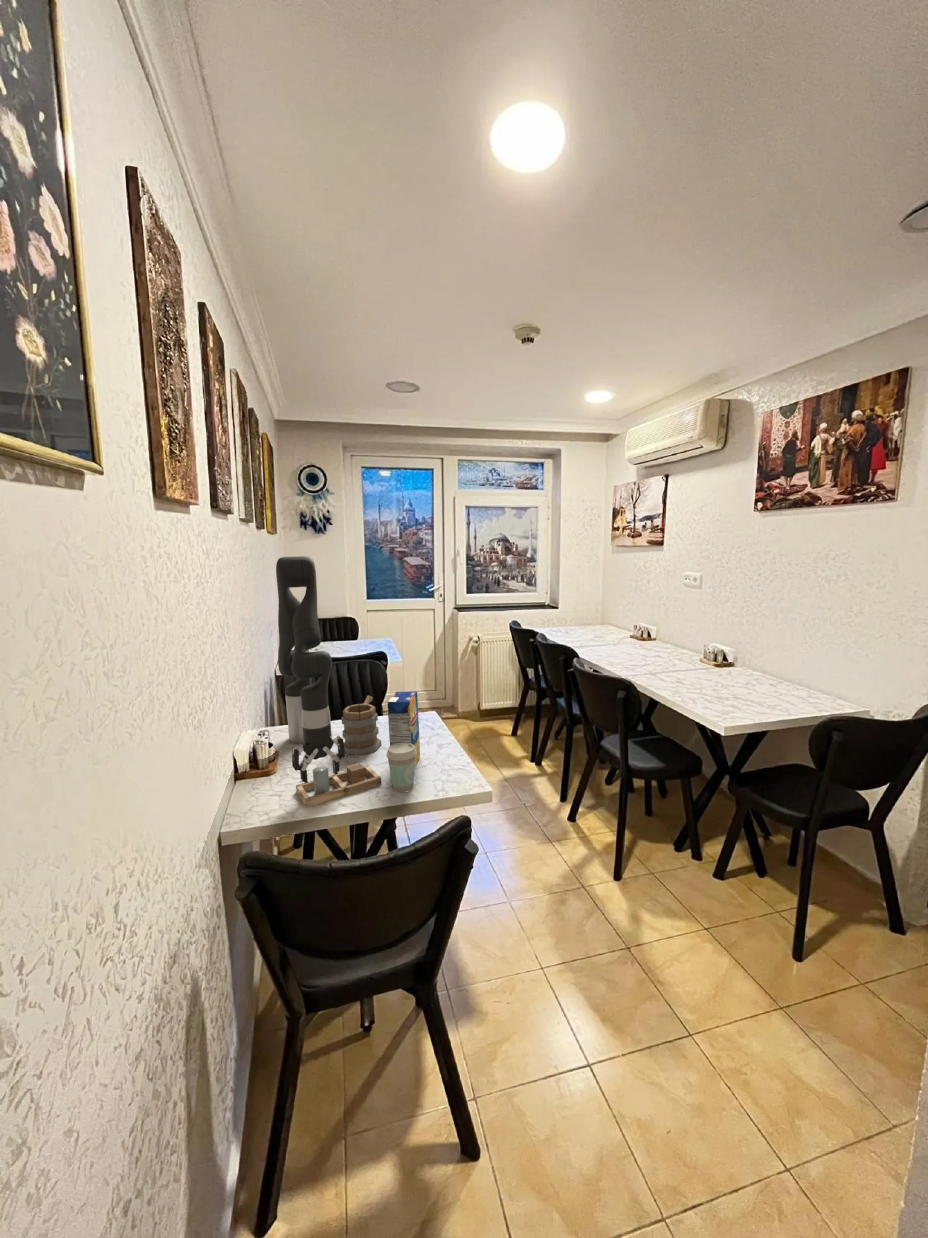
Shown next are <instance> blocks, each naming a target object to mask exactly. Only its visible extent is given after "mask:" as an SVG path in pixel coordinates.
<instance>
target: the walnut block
mask: <svg viewBox="0 0 928 1238" xmlns="http://www.w3.org/2000/svg"><path fill="white" fill-rule="evenodd" d="M363 766H364V765H362V764H361V763H360V762H358V763H353V764H349V765H347V766H346V771H347V779H346V780H347V784H348V785H351V784H355V783H358V782H361V781H365V780H366V774H365V768H364V767H363Z"/></svg>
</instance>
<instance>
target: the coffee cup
mask: <svg viewBox="0 0 928 1238" xmlns="http://www.w3.org/2000/svg"><path fill="white" fill-rule="evenodd" d="M386 751H387V752H386V758H387V760H388V761H387V762H388V766H389V767H388V768H389V772H390V778H391V784H392V788H393V790H394V791H395V792H397V793H407V792H410V791H412V790H413V789H414V785H415V770H416V766H415V758H416V754H417V752H416V749H415V747H414V745H413V744H410V743H397V744H393V745H391V746H390V745H389V746H388V748H387V750H386Z"/></svg>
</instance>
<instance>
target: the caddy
mask: <svg viewBox="0 0 928 1238" xmlns="http://www.w3.org/2000/svg"><path fill="white" fill-rule="evenodd" d="M362 766H363V767H364V768H365V776H367V777H368V779H365V781H361V782H358V783H355V784H351V785H349V784H348V785H346V784H345V783H344V782H343V781H345V780H347V770H344V771H341V772H338V774H336V775H335V774H334V773H333V774H331V775H329V785H332V784H333V785H334V787H336V789H330V791H328V792H325V793H321V794H318V795H311V796H310V795H309V794H308V791H310V790H314V782H313V780H310V781H309V780H308V783H304V782H303V783H300V784H296V785H295V788H296V793H297V795H298V796H299V798H300V799H301V800H302V802H303V804H304V805H305V806H306V808H308V807H309V808H310V807H312V806H316V805H318V804H321V803H325V802H328V801H331V800H334V799H338V798H341V797H344V796H347V795H350V794H354V793H357V792H360V791H364V790H366V789H370V788H373V787H376V786H379V785H382V776H381V775H379V774H378V773H377V772H376V771H375V770H374V769H372V768H371V767H370V765H362Z"/></svg>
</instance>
